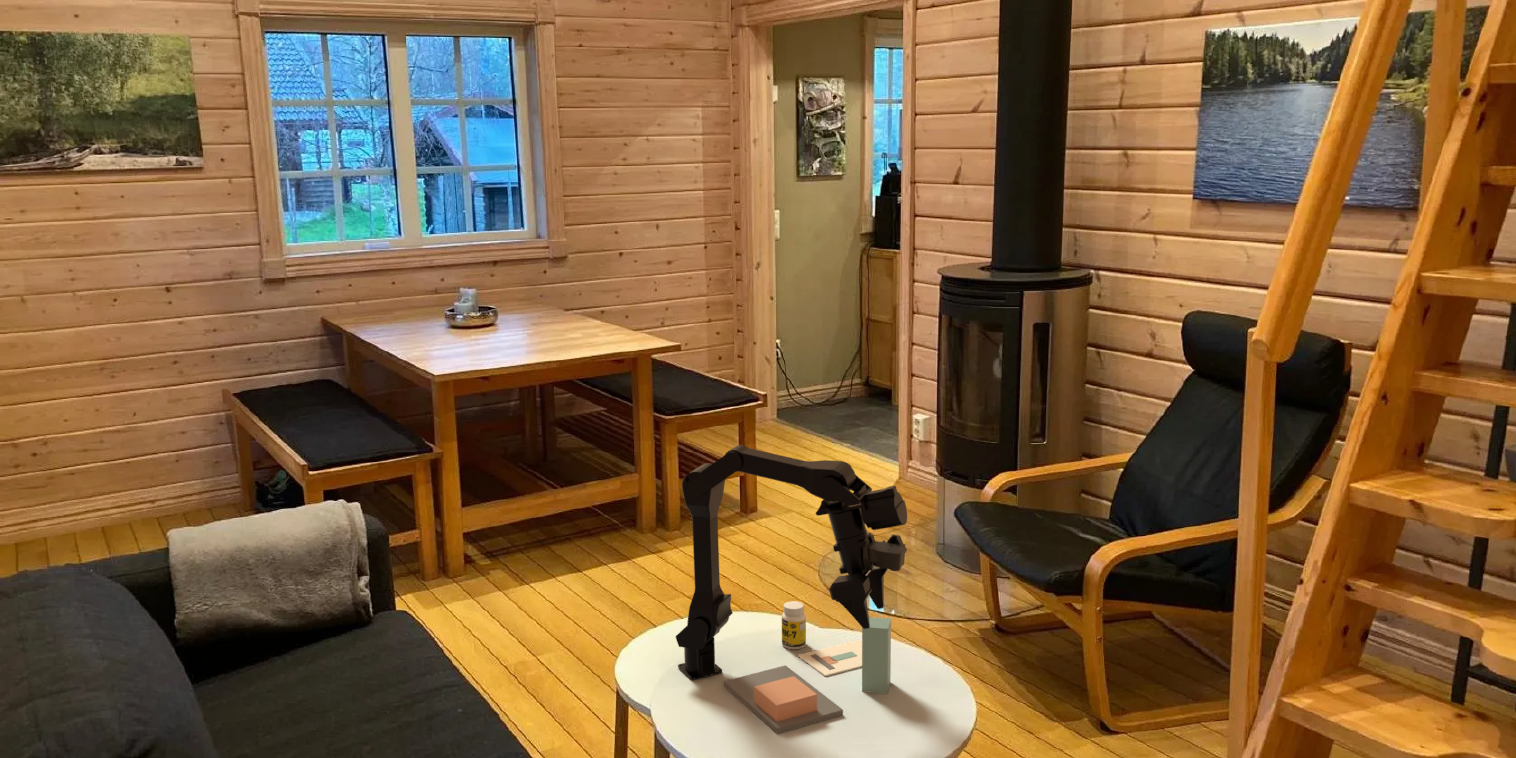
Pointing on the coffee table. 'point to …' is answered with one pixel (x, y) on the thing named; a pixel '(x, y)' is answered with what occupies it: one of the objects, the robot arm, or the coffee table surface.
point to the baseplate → (774, 675)
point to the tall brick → (876, 655)
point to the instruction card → (835, 658)
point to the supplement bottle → (793, 625)
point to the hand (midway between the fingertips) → (874, 618)
